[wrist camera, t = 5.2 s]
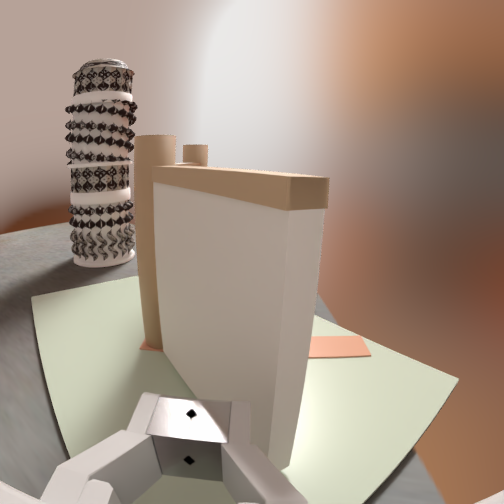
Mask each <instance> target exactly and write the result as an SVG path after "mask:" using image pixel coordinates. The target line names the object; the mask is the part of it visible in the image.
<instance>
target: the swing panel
mask: <svg viewBox="0 0 504 504" xmlns="http://www.w3.org/2000/svg"><path fill="white" fill-rule="evenodd" d="M152 182H153V196H154V236H155V258H156V275H157V289H158V302H159V314H160V324H161V334H162V343H163V352H164V353H165V355H166V356H167V357H168V359H169V360H170V362H171V363H172V365H173V366H174V367H175V369H176V370H177V372H178V373H179V374H180V376H181V377H182V379H183V380H184V381H185V383H186V384H187V385H188V387H189V388H190V389H191V391H192V392H193V393H194V395H195V396H196V397H197V399H207V400H223V401H250V403H251V423H250V444H252V445H256V446H257V447H258V448H259V449H260V450H261V451H262V452H263V454H264V455H265V456H266V457H267V458H268V459H269V460H270V461H271V463H272V464H273V465H274V466H275V467H276V468H277V469H278V470H279V471H281V470H283V469H285V468H287V467H288V466H289V465H290V460H291V455H292V450H293V445H294V440H295V434H296V429H297V424H298V418H299V413H300V407H301V401H302V395H303V389H304V383H305V377H306V370H307V364H308V357H309V350H310V343H311V336H312V328H313V321H314V313H315V304H316V296H317V287H318V278H319V269H320V259H321V247H322V236H323V225H324V213H325V209H326V208H328V194H329V178H328V177H319V176H310V175H302V174H293V173H283V172H271V171H260V170H248V169H234V168H218V167H201V166H178V165H175V166H152Z"/></svg>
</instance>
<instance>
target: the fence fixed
mask: <svg viewBox="0 0 504 504" xmlns="http://www.w3.org/2000/svg"><path fill="white" fill-rule="evenodd" d="M134 144H135V145H134V201H135V230H136V248H137V263H138V276H139V287H140V297H141V307H142V316H143V324H144V332H145V340H146V344H147V345H148V346H149V347H151V348H154V349H161V350H162V349H163V343H162V334H161V324H160V314H159V302H158V289H157V275H156V258H155V236H154V196H153V182H152V166H175V165H178V166H201V167H207V159H208V145H183V163H175V145H176V136H174V135H143V136H136V137H135V143H134Z"/></svg>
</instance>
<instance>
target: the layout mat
mask: <svg viewBox="0 0 504 504" xmlns="http://www.w3.org/2000/svg"><path fill="white" fill-rule="evenodd" d="M31 301H32V309H33V316H34V322H35V328H36V334H37V340H38V345H39V350H40V355H41V360H42V365H43V369H44V373H45V378H46V382H47V386H48V389H49V393H50V397H51V401H52V404H53V408H54V411H55V414H56V417H57V421H58V424H59V427H60V430H61V433H62V436H63V439H64V442H65V444H66V447H67V450H68V452H69V455H70V458H73V457H75V456H77V455H78V454H80V453H82V452H84V451H86V450H87V449H89V448H91V447H93V446H94V445H96V444H98V443H100V442H101V441H103V440H105V439H106V438H108V437H110V436H111V435H113V434H115V433H117V432H118V431H120V430H125V431H126V429H127V427H128V425H129V422H130V420H131V418H132V415H133V413H134V411H135V409H136V406H137V404H138V402H139V399H140V397H141V395H142V394H143V393H144V392H148V393H154V394H160V395H162V394H163V395H170V396H177V397H185V398H194V399H197V397H196V396H195V395H194V393H193V392H192V391H191V389H190V388H189V387H188V385H187V384H186V383H185V381H184V380H183V379H182V377H181V376H180V374H179V373H178V372H177V370H176V369H175V367H174V366H173V365H172V363H171V362H170V360H169V359H168V357H167V356H166V355H165V353H164V352H163V349H162V350H161V349H154V348H151V347H149V346H148V345H147V344H146V340H145V332H144V324H143V316H142V307H141V297H140V287H139V276H134V277H129V278H124V279H119V280H114V281H109V282H104V283H99V284H93V285H88V286H83V287H78V288H73V289H68V290H63V291H58V292H53V293H48V294H43V295H38V296H33V297H31ZM458 380H459V379H458V378H456V377H453V376H451V375H448V374H446V373H444V372H441V371H439V370H437V369H434V368H432V367H430V366H427V365H425V364H423V363H420V362H418V361H416V360H414V359H411V358H409V357H407V356H404V355H402V354H400V353H398V352H395V351H393V350H390V349H388V348H386V347H384V346H382V345H379V344H377V343H375V342H373V341H371V340H368V339H366V338H364V337H362V336H359V335H357V334H355V333H353V332H350V331H348V330H346V329H344V328H342V327H340V326H337V325H335V324H333V323H331V322H329V321H327V320H324V319H322V318H320V317H318V316H316V315H314V321H313V328H312V336H311V343H310V350H309V357H308V364H307V370H306V377H305V383H304V389H303V395H302V401H301V407H300V413H299V418H298V424H297V429H296V434H295V440H294V445H293V450H292V455H291V460H290V465H289V466H288V467H287V468H285V469H283V470H281V471H280V472H281V473H282V475H283V476H284V477H285V478H286V479H287V480H288V481H289V482H290V483H291V484H292V485H293V486H294V487H295V488H296V489H297V490H298V491H299V492H300V493H301V494H302V495H303V496H304V497H305V499H306V500H307V501H308V504H364V503H365V502H366V501H367V500H368V499H369V498H370V497H371V495H372V494H373V493H374V492H375V491H376V490H377V489H378V488H379V487H380V486H381V485H382V484H383V483H384V482H385V480H386V479H387V478H388V477H389V476H390V475H391V474H392V473H393V471H394V470H395V469H396V468H397V467H398V466H399V464H400V463H401V462H402V461H403V460H404V458H405V457H406V456H407V455H408V453H409V452H410V451H411V450H412V448H413V447H414V446H415V444H416V443H417V442H418V441H419V439H420V438H421V436H422V435H423V434H424V432H425V431H426V430H427V428H428V427H429V426H430V424H431V422H432V421H433V420H434V419H435V417H436V416H437V414H438V413H439V411H440V410H441V408H442V406H443V405H444V404H445V402H446V401H447V399H448V398H449V396H450V394H451V393H452V391H453V389H454V388H455V386H456V385H457V382H458ZM132 504H236V503H235V501H234V499H233V498H232V496H231V495H230V493H229V492H228V490H227V489H226V487H225V485H224V484H223V482H221V481H211V480H202V479H194V478H185V477H175V476H167V475H162V477H161V478H160V479H159V480H158V481H157V482H156V483H155V484H154V485H152V486H151V487H150V488H149V489H148V490H147V491H146V492H145V493H143V494H142V495H141V496H140V497H139V498H138V499H137V500H135V501H134V502H133V503H132Z"/></svg>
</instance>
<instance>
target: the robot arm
mask: <svg viewBox="0 0 504 504" xmlns="http://www.w3.org/2000/svg"><path fill="white" fill-rule="evenodd" d="M250 423H251V403H250V401H223V400H207V399H194V398H185V397H177V396H170V395H163V394H162V395H160V394H154V393H148V392H144V393H143V394H142V395H141V397H140V399H139V402H138V404H137V406H136V409H135V411H134V413H133V415H132V418H131V420H130V422H129V425H128V427H127V429H126V431H125V430H120V431H118V432H117V433H115V434H113V435H111V436H110V437H108V438H106V439H105V440H103V441H101V442H100V443H98V444H96V445H94V446H93V447H91V448H89V449H87V450H86V451H84V452H82V453H80V454H78V455H77V456H75V457H73V458H71V459H69V460H68V461H66V462H64V463H62V464H60V465H58V466H57V468H56V470H55V472H54V474H53V475H52V477H51V479H50V481H49V483H48V485H47V487H46V489H45V491H44V493H43V494H42V496H41V498H40V500H38V499H36V498H34V497H32V496H30V495H27V494H25V493H23V492H21V491H19V490H17V489H15V488H13V487H11V486H9V485H7V484H5V483H4V482H2V481H0V504H132V503H133V502H134V501H135V500H137V499H138V498H139V497H140V496H141V495H142V494H143V493H145V492H146V491H147V490H148V489H149V488H150V487H151V486H152V485H154V484H155V483H156V482H157V481H158V480H159V479H160V478H161V477H162V475H167V476H175V477H185V478H194V479H202V480H211V481H221V482H223V484H224V485H225V487H226V489H227V490H228V492H229V493H230V495H231V496H232V498H233V499H234V501H235V503H236V504H308V501H307V500H306V499H305V497H304V496H303V495H302V494H301V493H300V492H299V491H298V490H297V489H296V488H295V487H294V486H293V485H292V484H291V483H290V482H289V481H288V480H287V479H286V478H285V477H284V476H283V475H282V473H281V472H280V471H279V470H278V469H277V468H276V467H275V466H274V465H273V464H272V463H271V461H270V460H269V459H268V458H267V457H266V456H265V455H264V454H263V452H262V451H261V450H260V449H259V448H258V447H257V446H256V445H252V444H250ZM475 504H504V490H503V491H501V492H499V493H497V494H495V495H493V496H491V497H488V498H486V499H484V500H482V501H480V502H477V503H475Z"/></svg>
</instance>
